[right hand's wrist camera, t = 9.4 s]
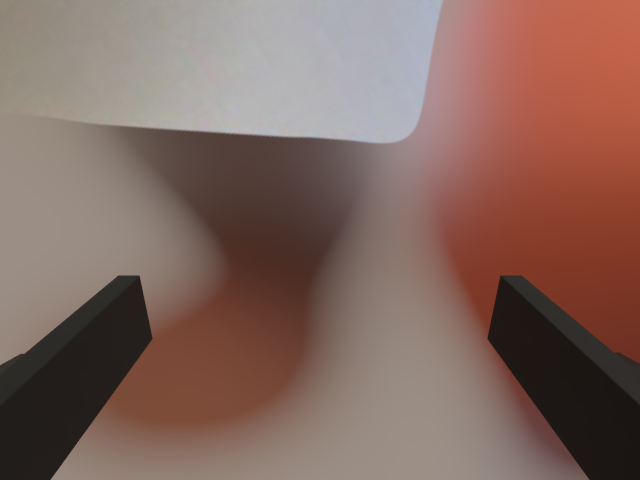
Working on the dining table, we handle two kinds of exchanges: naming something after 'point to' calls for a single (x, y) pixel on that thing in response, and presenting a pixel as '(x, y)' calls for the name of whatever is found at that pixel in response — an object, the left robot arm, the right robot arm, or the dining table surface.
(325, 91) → the dining table surface
